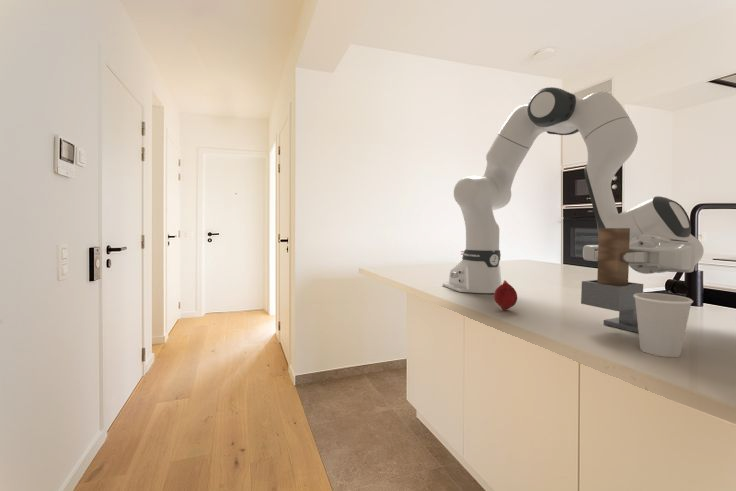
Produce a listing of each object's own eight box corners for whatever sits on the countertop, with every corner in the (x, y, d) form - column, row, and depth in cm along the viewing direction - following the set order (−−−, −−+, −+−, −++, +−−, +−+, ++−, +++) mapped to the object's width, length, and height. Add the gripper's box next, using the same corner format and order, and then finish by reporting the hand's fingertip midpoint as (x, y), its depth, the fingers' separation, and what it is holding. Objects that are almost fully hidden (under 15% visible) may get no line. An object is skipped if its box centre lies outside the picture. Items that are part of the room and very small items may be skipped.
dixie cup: (667, 344, 70) (669, 292, 70) (703, 360, 62) (706, 302, 62) (621, 343, 71) (623, 292, 71) (650, 359, 63) (653, 301, 62)
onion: (520, 310, 99) (520, 280, 99) (512, 313, 95) (512, 282, 94) (498, 306, 103) (499, 278, 103) (490, 310, 99) (490, 280, 98)
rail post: (597, 292, 80) (598, 228, 79) (608, 291, 82) (610, 228, 81) (615, 295, 76) (618, 228, 76) (627, 294, 78) (629, 228, 77)
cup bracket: (580, 328, 82) (581, 281, 81) (619, 321, 87) (621, 277, 87) (617, 338, 74) (619, 286, 74) (657, 330, 80) (660, 282, 80)
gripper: (604, 238, 93) (566, 239, 88) (704, 242, 75) (665, 243, 69) (603, 263, 94) (565, 266, 88) (703, 273, 75) (664, 277, 69)
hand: (610, 256), depth 78 cm, fingers closed on rail post, 4 cm apart
